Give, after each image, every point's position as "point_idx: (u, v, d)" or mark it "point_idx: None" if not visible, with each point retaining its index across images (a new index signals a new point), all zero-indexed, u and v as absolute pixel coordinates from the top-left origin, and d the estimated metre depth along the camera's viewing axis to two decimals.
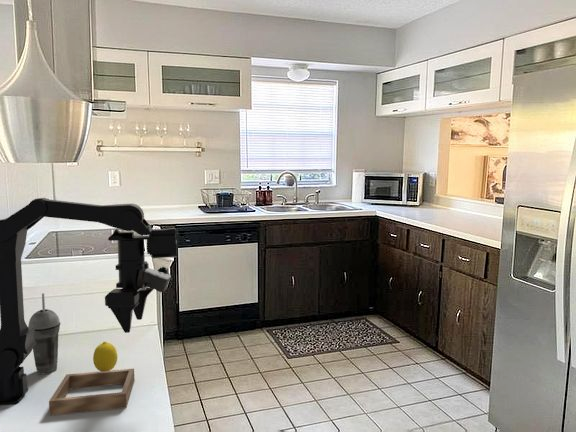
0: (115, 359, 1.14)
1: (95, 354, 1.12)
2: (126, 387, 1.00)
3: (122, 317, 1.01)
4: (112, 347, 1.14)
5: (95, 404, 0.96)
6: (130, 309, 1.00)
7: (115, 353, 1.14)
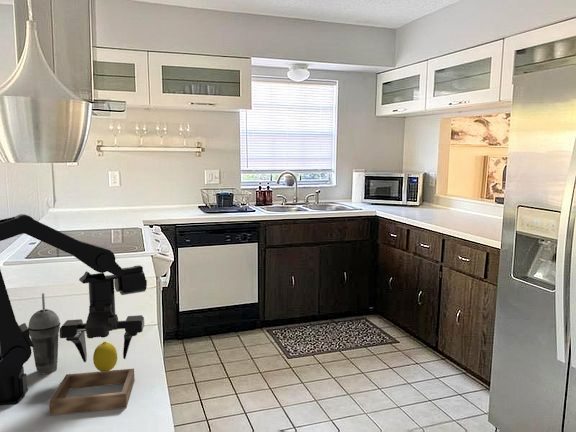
0: (115, 359, 1.14)
1: (95, 354, 1.12)
2: (126, 387, 1.00)
3: None
4: (112, 347, 1.14)
5: (95, 404, 0.96)
6: None
7: (115, 353, 1.14)
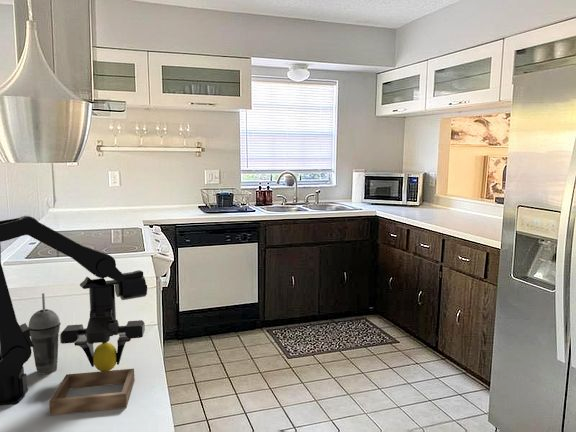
0: (115, 359, 1.14)
1: (95, 354, 1.12)
2: (126, 387, 1.00)
3: None
4: (112, 347, 1.14)
5: (95, 404, 0.96)
6: None
7: (115, 353, 1.14)
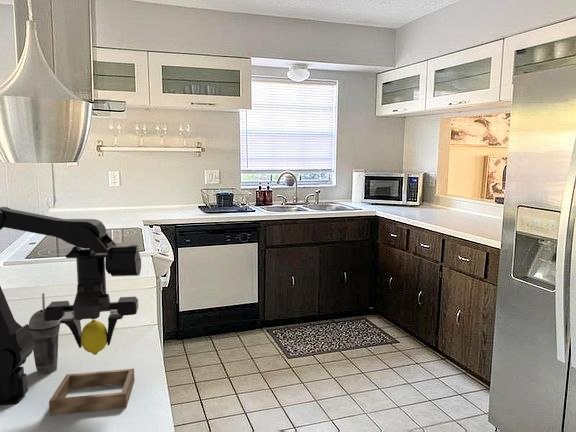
0: (105, 339, 1.03)
1: (83, 333, 1.01)
2: (126, 387, 1.00)
3: None
4: (102, 326, 1.03)
5: (95, 404, 0.96)
6: None
7: (105, 332, 1.03)
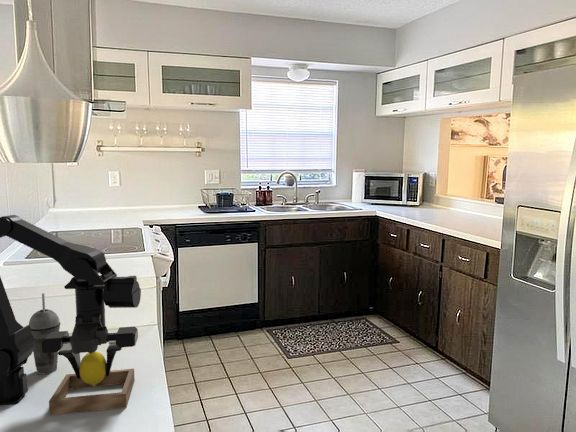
0: (104, 370, 1.02)
1: (82, 365, 1.00)
2: (126, 387, 1.00)
3: None
4: (101, 357, 1.02)
5: (95, 404, 0.96)
6: None
7: (104, 363, 1.02)
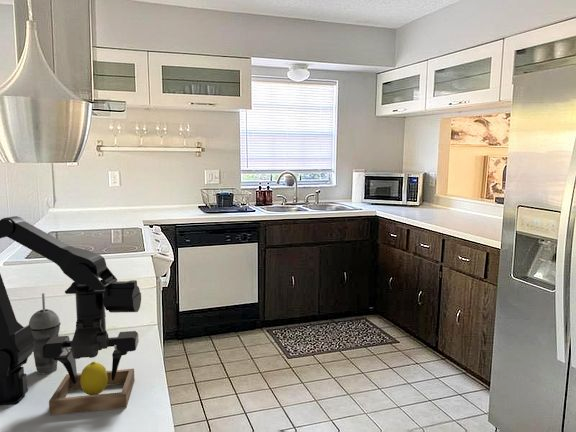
0: (105, 381, 1.02)
1: (82, 376, 1.00)
2: (126, 387, 1.00)
3: None
4: (102, 368, 1.02)
5: (95, 404, 0.96)
6: None
7: (105, 374, 1.02)
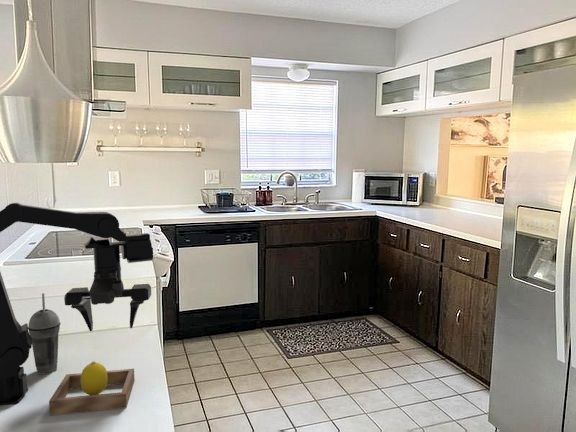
0: (105, 381, 1.02)
1: (83, 376, 1.00)
2: (126, 387, 1.00)
3: None
4: (102, 368, 1.02)
5: (95, 404, 0.96)
6: None
7: (105, 374, 1.02)
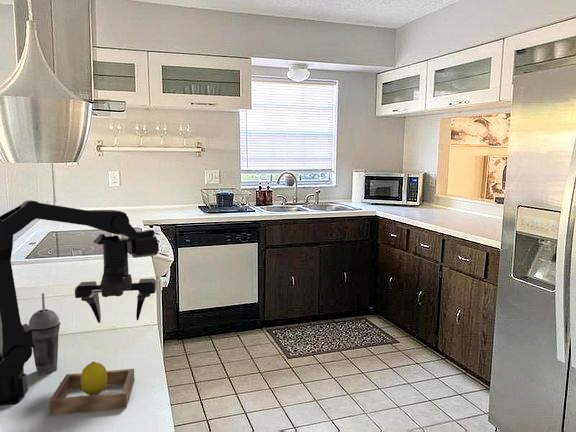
0: (105, 381, 1.02)
1: (82, 376, 1.00)
2: (126, 387, 1.00)
3: None
4: (102, 368, 1.02)
5: (95, 404, 0.96)
6: None
7: (105, 374, 1.02)
